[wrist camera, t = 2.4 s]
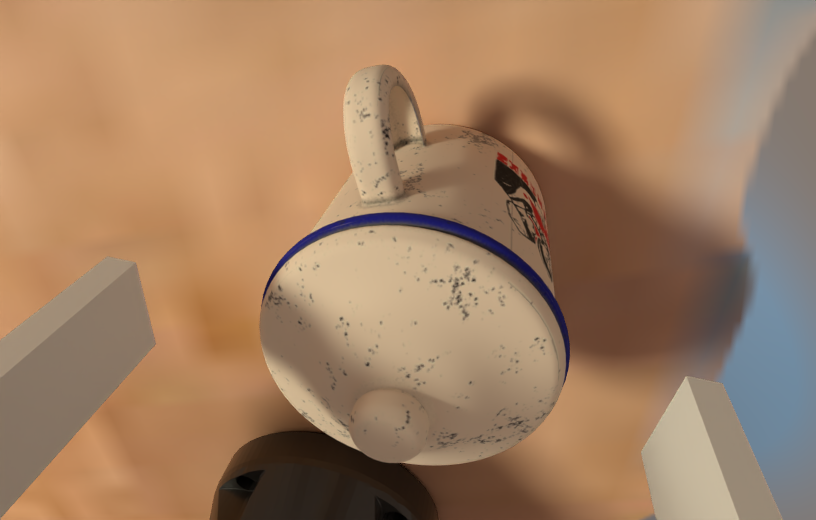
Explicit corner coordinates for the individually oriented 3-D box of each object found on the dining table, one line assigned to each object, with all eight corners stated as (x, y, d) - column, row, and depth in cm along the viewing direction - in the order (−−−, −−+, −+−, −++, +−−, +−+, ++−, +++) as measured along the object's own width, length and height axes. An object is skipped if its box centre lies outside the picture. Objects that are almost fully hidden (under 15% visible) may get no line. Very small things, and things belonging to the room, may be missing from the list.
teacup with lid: (559, 295, 23) (592, 557, 13) (371, 309, 25) (282, 540, 16) (532, 7, 17) (555, 100, 7) (291, 63, 19) (67, 187, 10)
